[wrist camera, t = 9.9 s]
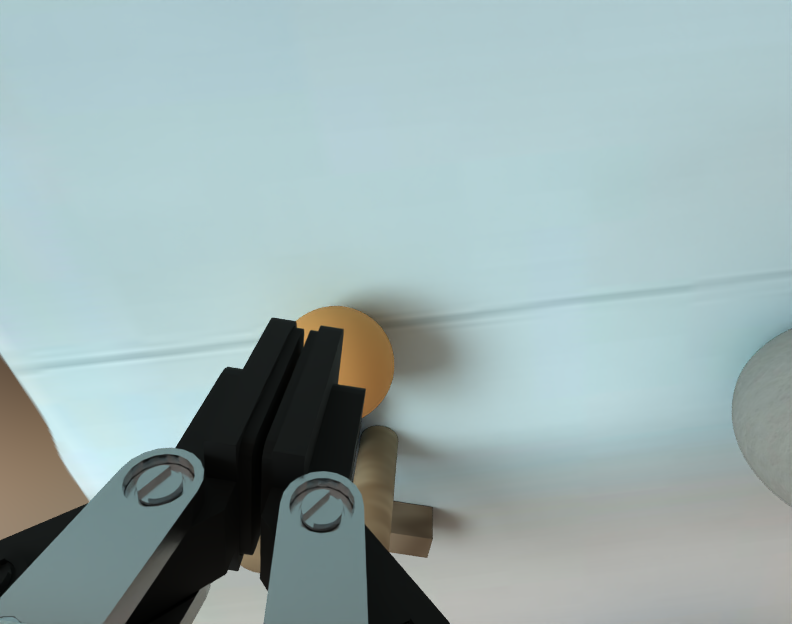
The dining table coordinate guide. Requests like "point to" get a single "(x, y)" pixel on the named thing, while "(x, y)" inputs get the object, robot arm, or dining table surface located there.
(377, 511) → the pin
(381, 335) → the orange ball
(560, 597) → the dining table surface
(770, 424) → the ball
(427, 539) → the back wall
